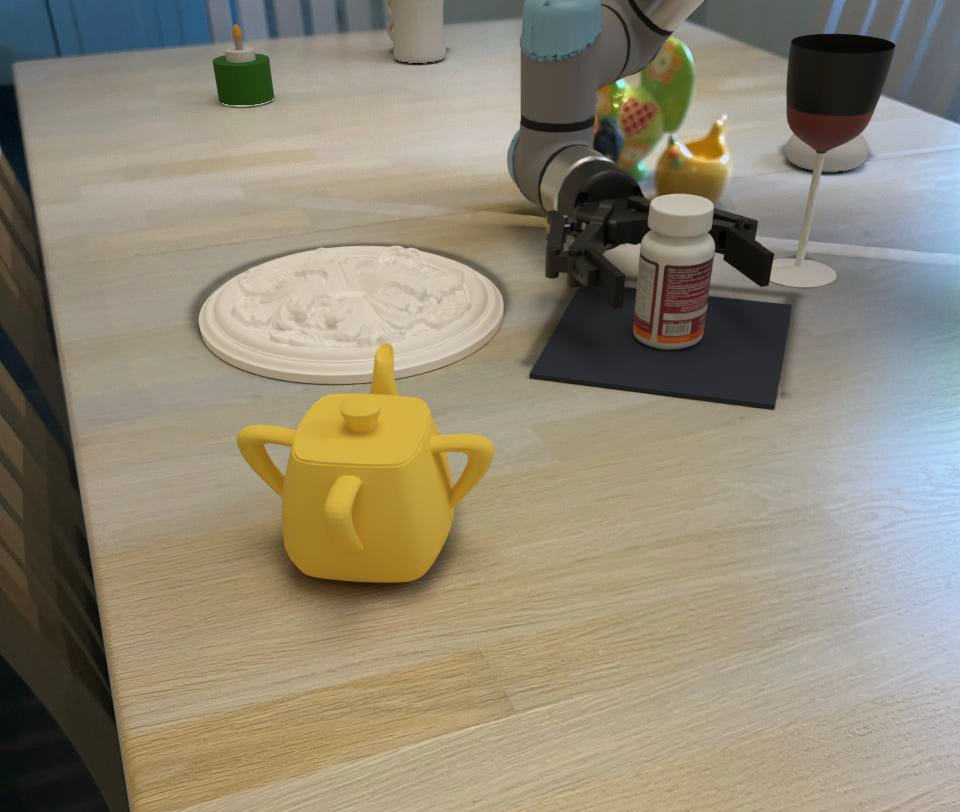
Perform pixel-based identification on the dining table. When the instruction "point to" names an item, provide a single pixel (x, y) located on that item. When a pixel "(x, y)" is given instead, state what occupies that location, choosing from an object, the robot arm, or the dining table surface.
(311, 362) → the ceiling medallion
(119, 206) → the dining table surface
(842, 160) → the donut
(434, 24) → the mug
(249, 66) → the candle
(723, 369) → the mat
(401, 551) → the teapot
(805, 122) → the wineglass
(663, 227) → the pill bottle
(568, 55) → the robot arm
